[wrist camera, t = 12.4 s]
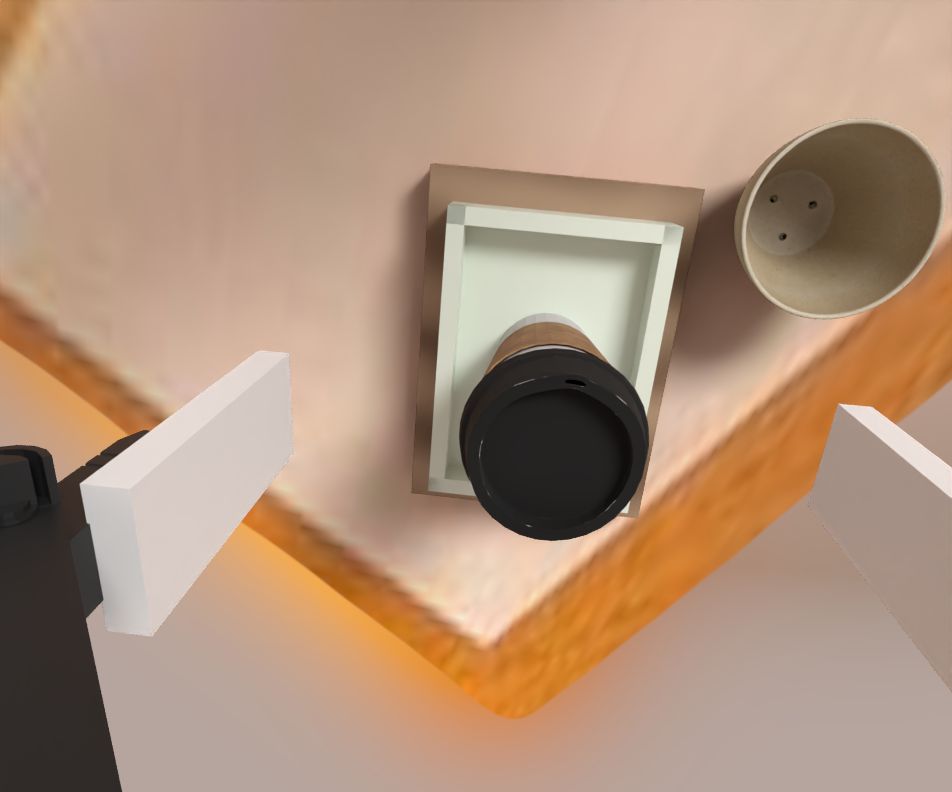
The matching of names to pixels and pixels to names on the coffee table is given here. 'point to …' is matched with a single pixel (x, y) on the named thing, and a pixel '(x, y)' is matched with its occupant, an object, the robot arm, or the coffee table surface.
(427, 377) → the shelf board
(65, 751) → the robot arm
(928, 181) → the flower pot
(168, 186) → the coffee table surface
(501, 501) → the coffee cup
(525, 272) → the tray
